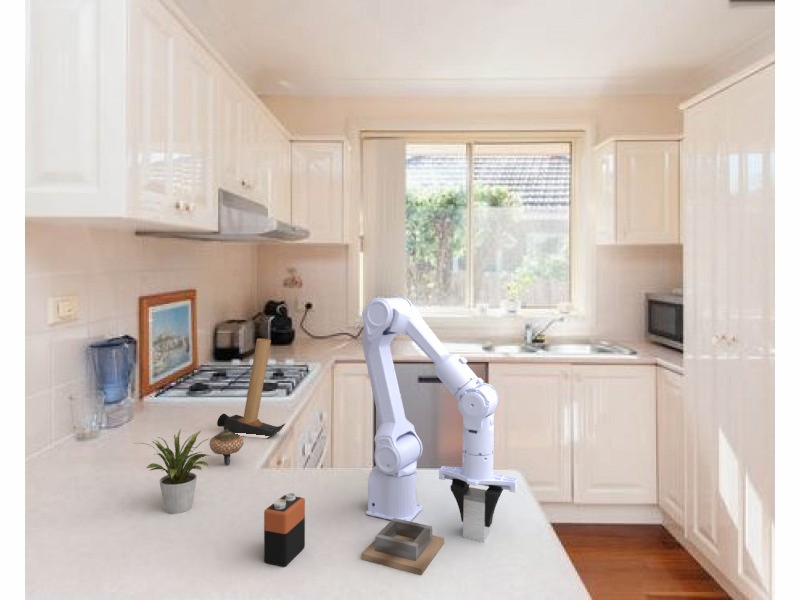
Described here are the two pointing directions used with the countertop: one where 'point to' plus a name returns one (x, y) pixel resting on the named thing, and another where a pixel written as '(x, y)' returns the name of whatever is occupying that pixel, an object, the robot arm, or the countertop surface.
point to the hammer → (252, 399)
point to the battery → (284, 529)
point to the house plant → (178, 474)
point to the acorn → (226, 444)
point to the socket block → (404, 546)
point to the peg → (475, 515)
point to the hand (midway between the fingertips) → (476, 522)
